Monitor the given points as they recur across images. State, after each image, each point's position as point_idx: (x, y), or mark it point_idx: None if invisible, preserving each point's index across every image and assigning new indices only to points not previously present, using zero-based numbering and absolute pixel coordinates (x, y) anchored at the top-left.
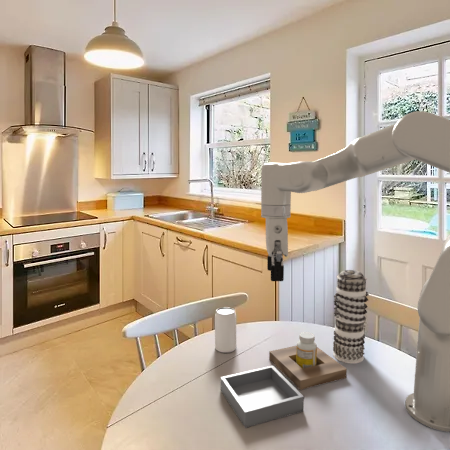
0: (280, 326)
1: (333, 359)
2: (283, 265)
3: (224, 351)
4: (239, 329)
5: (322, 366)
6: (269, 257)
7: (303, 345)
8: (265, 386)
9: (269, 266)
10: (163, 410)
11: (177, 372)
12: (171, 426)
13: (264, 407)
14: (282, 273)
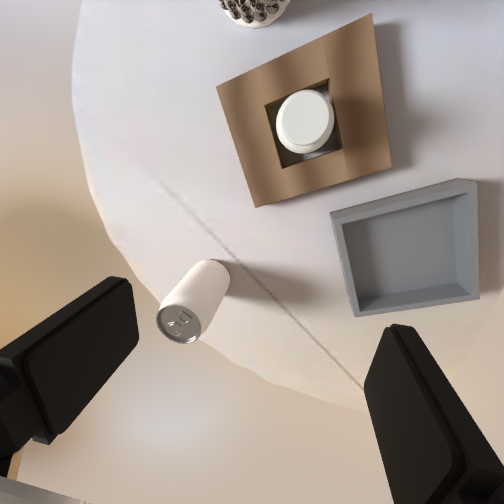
0: (104, 144)
1: (314, 42)
2: (488, 472)
3: (229, 282)
4: (133, 240)
5: (343, 90)
6: (58, 427)
7: (321, 138)
8: (363, 234)
9: (120, 354)
10: None
11: (285, 350)
12: None
13: (478, 266)
14: (440, 384)
